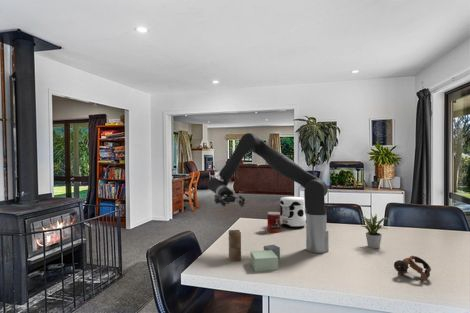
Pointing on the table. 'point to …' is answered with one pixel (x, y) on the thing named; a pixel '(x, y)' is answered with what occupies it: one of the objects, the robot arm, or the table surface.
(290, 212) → the milk container
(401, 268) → the brown arched piece
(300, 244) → the table surface
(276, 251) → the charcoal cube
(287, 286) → the table surface
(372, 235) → the house plant
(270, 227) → the canned food
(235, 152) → the robot arm
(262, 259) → the sage block
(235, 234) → the walnut post
